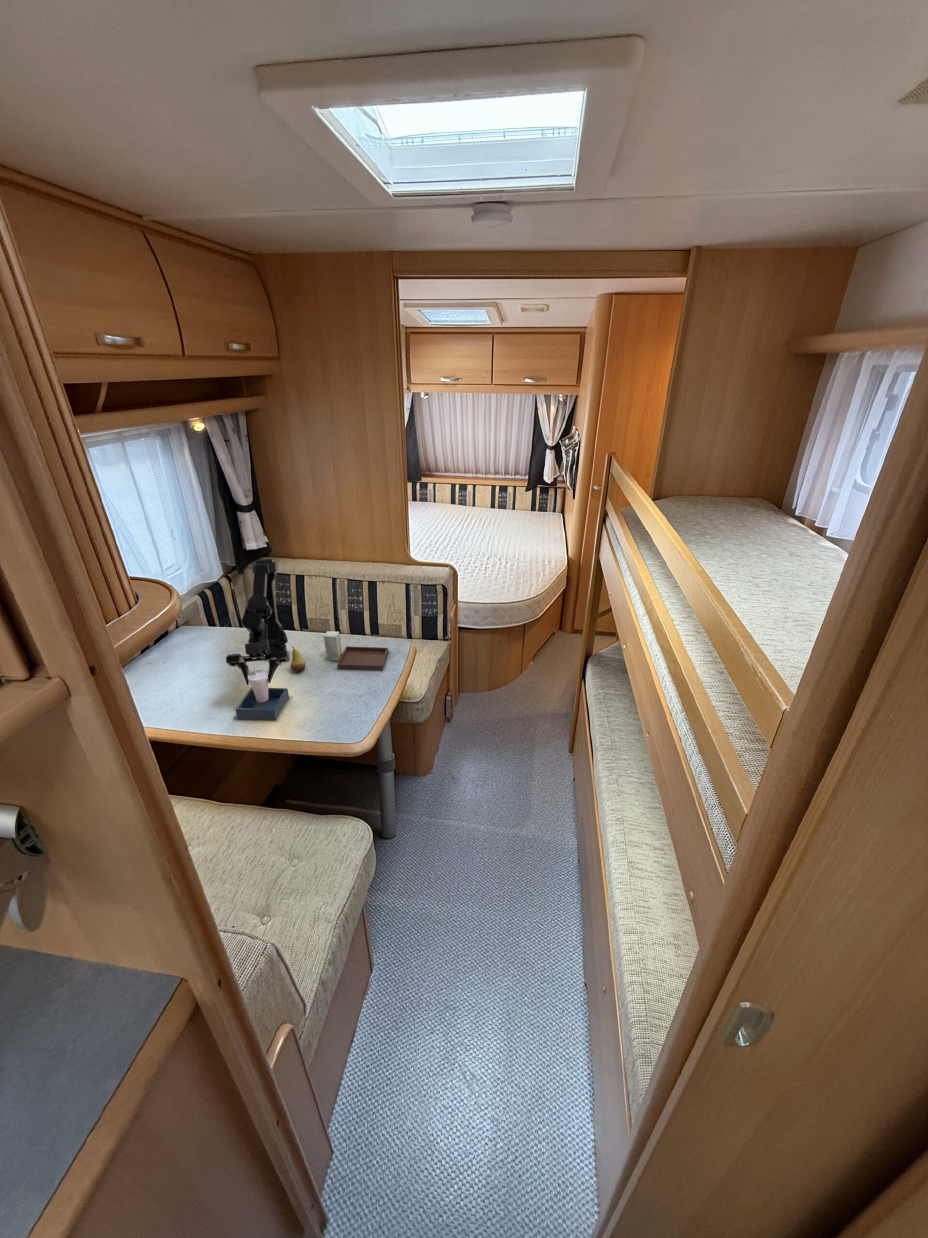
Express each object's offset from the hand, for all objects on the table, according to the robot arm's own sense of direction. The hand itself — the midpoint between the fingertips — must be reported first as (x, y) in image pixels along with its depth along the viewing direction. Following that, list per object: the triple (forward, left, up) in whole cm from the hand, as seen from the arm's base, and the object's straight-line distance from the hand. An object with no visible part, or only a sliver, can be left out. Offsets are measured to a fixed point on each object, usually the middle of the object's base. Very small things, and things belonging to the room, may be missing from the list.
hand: (258, 683), depth 160 cm
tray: (+27, +34, -11) cm, 45 cm away
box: (+15, +35, -11) cm, 40 cm away
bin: (0, +1, -11) cm, 11 cm away
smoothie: (0, +1, -7) cm, 7 cm away
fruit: (+4, +25, -11) cm, 28 cm away
